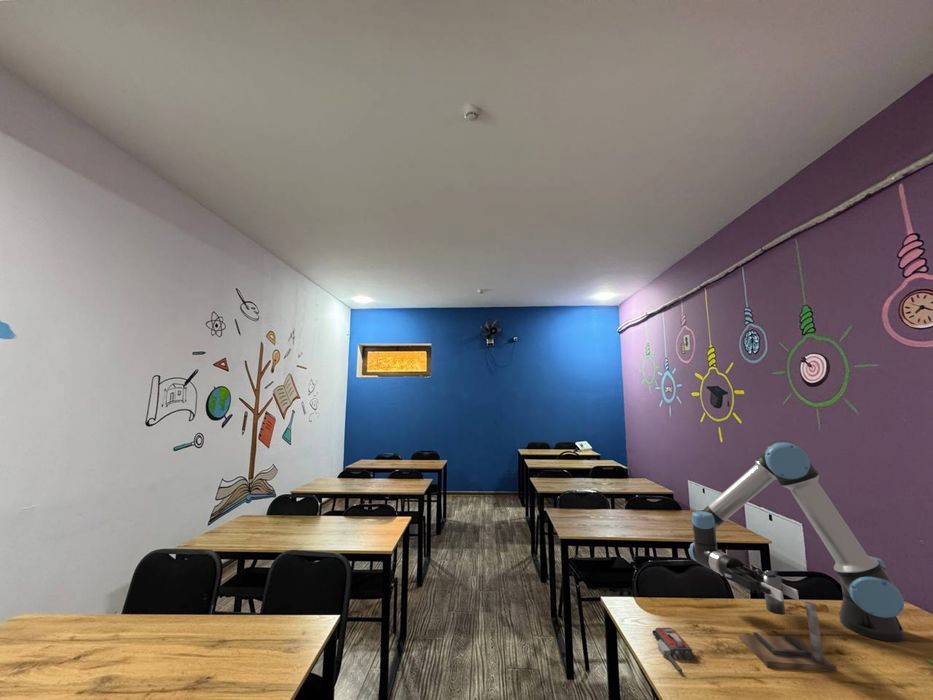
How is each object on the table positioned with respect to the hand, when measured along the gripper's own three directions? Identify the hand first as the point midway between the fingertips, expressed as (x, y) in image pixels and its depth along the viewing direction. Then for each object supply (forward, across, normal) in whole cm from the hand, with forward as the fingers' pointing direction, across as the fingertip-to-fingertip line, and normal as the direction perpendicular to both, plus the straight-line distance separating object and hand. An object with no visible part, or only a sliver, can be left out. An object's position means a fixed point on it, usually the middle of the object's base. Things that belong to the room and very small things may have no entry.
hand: (789, 595), depth 115 cm
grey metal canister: (-5, 0, -6) cm, 8 cm away
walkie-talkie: (-9, +32, -18) cm, 38 cm away
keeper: (-4, 0, -18) cm, 18 cm away
